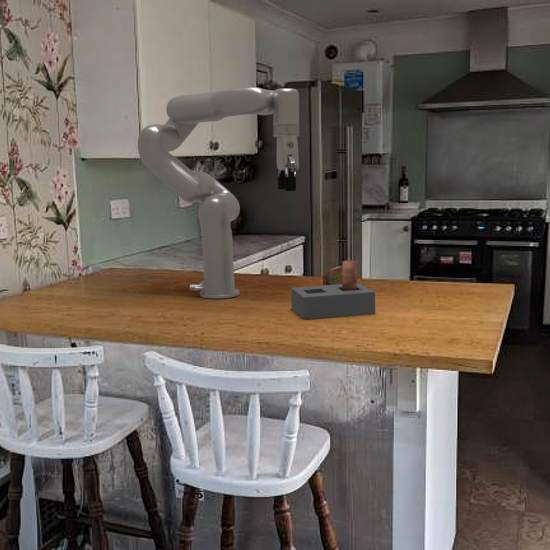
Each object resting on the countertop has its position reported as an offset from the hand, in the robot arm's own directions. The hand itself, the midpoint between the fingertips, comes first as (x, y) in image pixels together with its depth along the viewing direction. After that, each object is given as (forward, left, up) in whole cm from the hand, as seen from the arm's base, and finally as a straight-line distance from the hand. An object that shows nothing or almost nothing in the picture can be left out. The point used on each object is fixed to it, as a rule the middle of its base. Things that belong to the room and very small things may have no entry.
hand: (286, 190), depth 208 cm
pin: (+12, -22, -31) cm, 40 cm away
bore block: (+7, -22, -33) cm, 40 cm away
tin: (+16, +1, -33) cm, 37 cm away
